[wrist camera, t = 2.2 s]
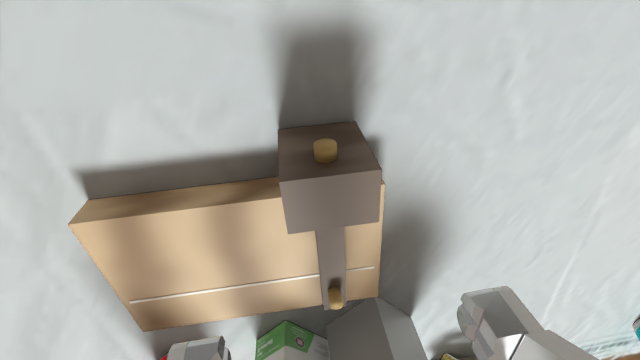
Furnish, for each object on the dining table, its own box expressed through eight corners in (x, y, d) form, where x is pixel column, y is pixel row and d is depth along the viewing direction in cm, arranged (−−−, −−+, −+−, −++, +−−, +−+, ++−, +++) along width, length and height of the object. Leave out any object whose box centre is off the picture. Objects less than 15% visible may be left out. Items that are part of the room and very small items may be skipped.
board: (374, 164, 22) (385, 184, 20) (370, 273, 29) (378, 297, 27) (87, 200, 21) (66, 225, 19) (152, 305, 28) (143, 332, 26)
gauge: (355, 109, 19) (382, 155, 14) (355, 265, 28) (373, 328, 23) (276, 118, 19) (276, 167, 14) (300, 273, 27) (305, 339, 22)
